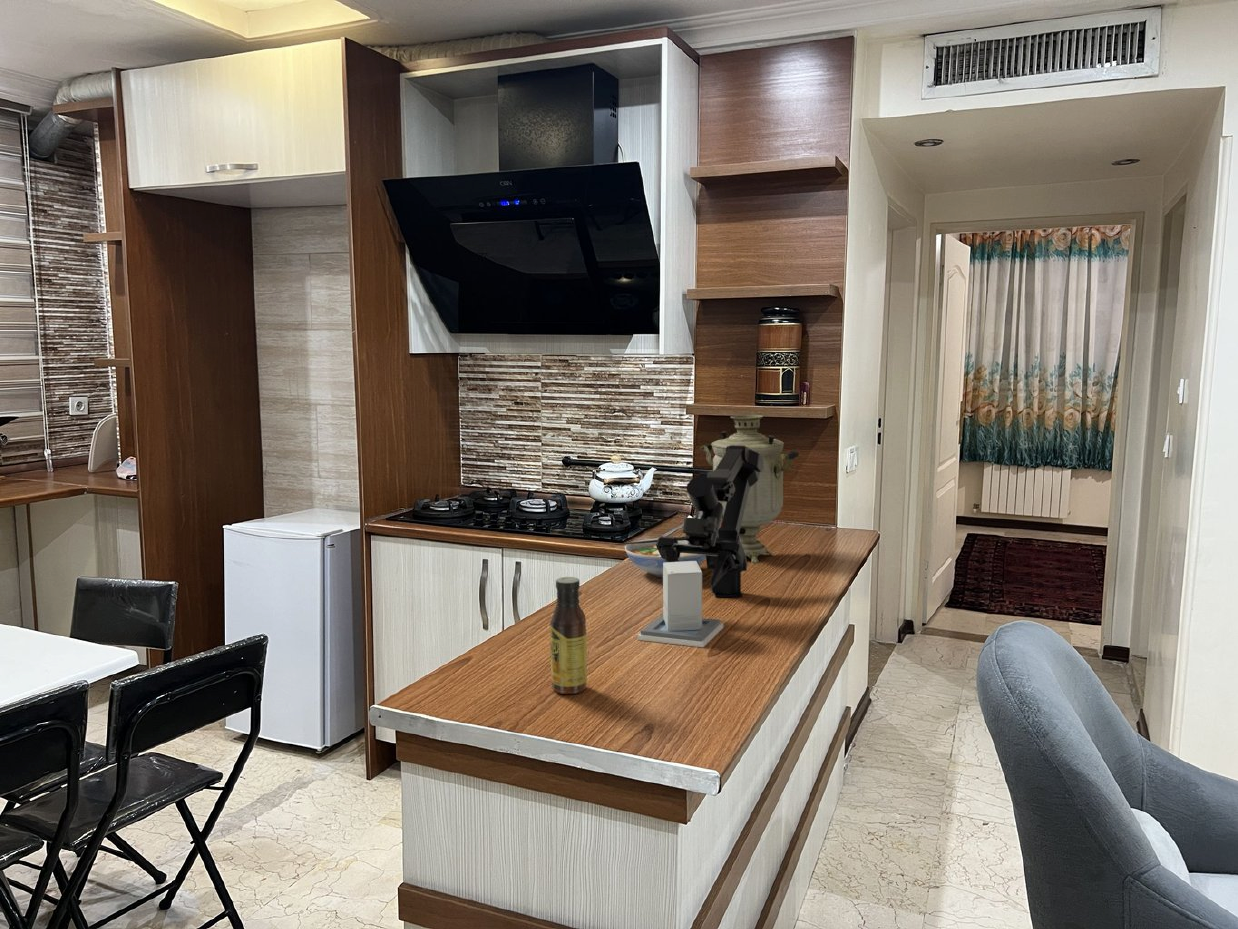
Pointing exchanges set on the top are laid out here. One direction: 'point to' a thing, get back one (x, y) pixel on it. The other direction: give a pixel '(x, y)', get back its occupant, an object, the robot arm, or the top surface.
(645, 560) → the ramen bowl
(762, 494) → the samovar
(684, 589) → the supplement box
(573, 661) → the sauce bottle
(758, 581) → the top surface
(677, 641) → the grey square tray
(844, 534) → the top surface
